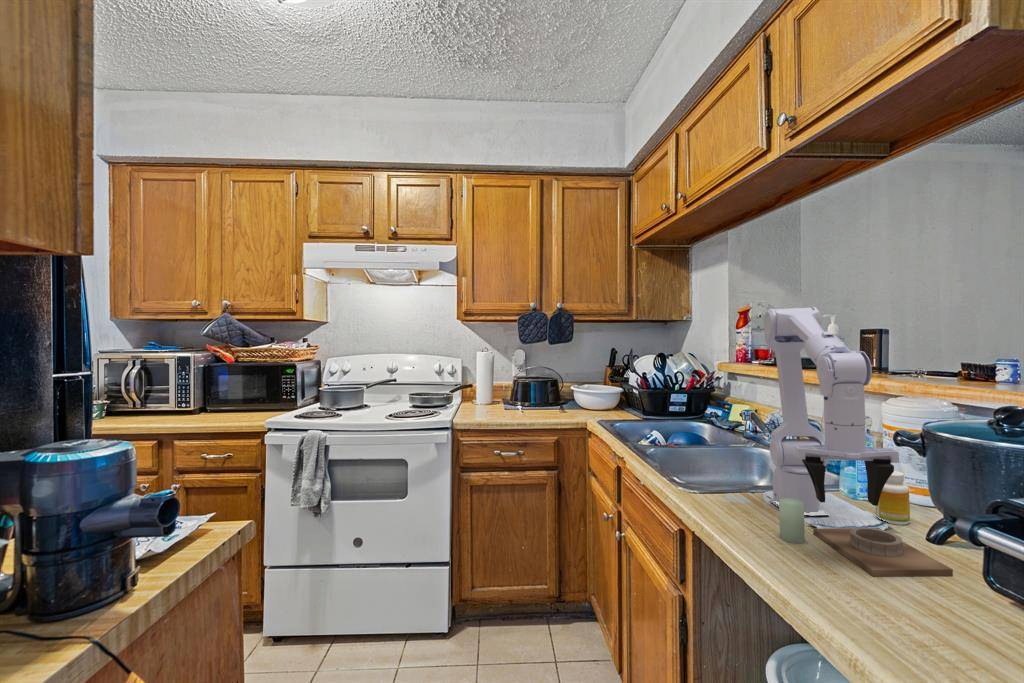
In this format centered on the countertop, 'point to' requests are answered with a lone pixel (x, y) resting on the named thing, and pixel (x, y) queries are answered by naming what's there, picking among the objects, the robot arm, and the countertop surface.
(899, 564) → the holder
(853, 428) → the robot arm
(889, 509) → the supplement bottle
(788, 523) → the peg
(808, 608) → the countertop surface
